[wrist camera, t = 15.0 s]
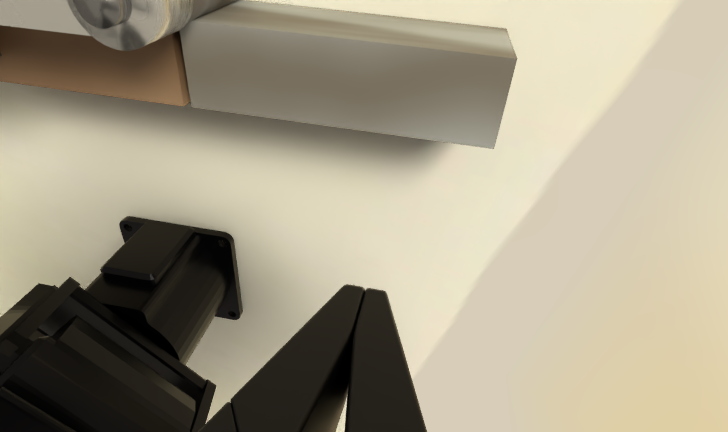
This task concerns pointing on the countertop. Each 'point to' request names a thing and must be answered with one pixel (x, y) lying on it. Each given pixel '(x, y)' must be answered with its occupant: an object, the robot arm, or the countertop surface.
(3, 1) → the bar
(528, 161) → the countertop surface
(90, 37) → the wooden block clamp
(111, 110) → the countertop surface
